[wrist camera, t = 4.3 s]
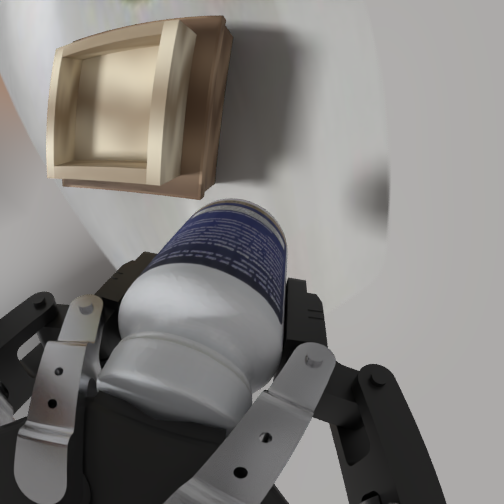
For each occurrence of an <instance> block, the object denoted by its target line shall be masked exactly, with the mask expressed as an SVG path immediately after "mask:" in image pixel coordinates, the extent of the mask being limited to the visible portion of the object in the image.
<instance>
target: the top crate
mask: <svg viewBox="0 0 504 504" xmlns="http://www.w3.org/2000/svg"><path fill="white" fill-rule="evenodd" d="M196 36H197V35H196V34H195V33H194V32H193V31H192V30H191V29H190V28H189V27H187V26H186V25H185V24H184V23H183V22H182V21H180V20H179V19H178V20H169V21H161V22H154V23H148V24H142V25H137V26H132V27H127V28H123V29H118V30H114V31H110V32H106V33H103V34H99V35H96V36H92V37H89V38H86V39H83V40H80V41H77V42H74V43H71V44H68V45H65V46H63V47H60V48H57V49H56V52H55V57H54V62H53V68H52V75H51V82H50V90H49V99H48V112H47V133H46V159H47V178H55V179H79V180H97V181H112V182H125V183H137V184H148V185H159V186H160V185H162V184H164V183H166V182H168V181H170V180H172V179H174V178H176V177H178V176H180V171H181V156H182V143H183V132H184V122H185V112H186V103H187V95H188V87H189V80H190V73H191V66H192V60H193V53H194V47H195V42H196Z"/></svg>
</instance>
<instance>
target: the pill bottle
mask: <svg viewBox="0 0 504 504" xmlns="http://www.w3.org/2000/svg"><path fill="white" fill-rule="evenodd" d="M286 273H287V243H286V239H285V235H284V233H283V231H282V229H281V227H280V225H279V224H278V222H277V221H276V219H275V218H274V217H273V216H272V215H271V214H270V213H269V212H268V211H266V210H265V209H264V208H262V207H260V206H259V205H257V204H255V203H252V202H250V201H246V200H242V199H221V200H217V201H214V202H211V203H209V204H207V205H205V206H204V207H202V208H201V209H199V210H198V211H197V212H196V213H195V214H194V215H192V216H191V217H190V219H189V220H188V221H187V222H186V223H185V224H184V225H183V226H182V227H181V228H180V230H179V231H178V232H177V233H176V234H175V235H174V236H173V237H172V238H171V239H170V241H169V242H168V243H167V244H166V245H165V246H164V247H163V249H162V250H161V251H160V252H159V253H158V254H157V255H156V257H155V258H154V259H153V260H152V261H151V262H150V264H149V265H148V266H147V267H146V268H145V269H144V270H143V272H142V273H141V274H140V275H139V276H138V277H137V279H136V280H135V281H134V282H133V284H132V285H131V286H130V288H129V289H128V290H127V292H126V293H125V295H124V297H123V299H122V301H121V304H120V308H119V313H118V326H119V332H120V335H121V339H122V340H121V341H120V342H119V344H118V345H117V346H116V347H115V348H114V350H113V351H112V353H111V355H110V357H109V359H108V361H107V362H106V364H105V366H104V367H103V369H102V371H101V372H100V374H99V376H98V378H97V383H96V387H97V391H98V392H99V390H100V391H103V392H105V393H107V394H110V395H112V396H115V397H117V398H120V399H122V400H125V401H127V402H128V403H130V404H131V405H133V406H134V407H136V408H137V409H139V410H140V411H142V412H143V413H145V414H147V415H148V416H150V417H151V418H153V419H156V420H166V421H182V422H194V423H198V424H202V425H206V426H211V427H215V428H220V429H225V430H226V436H225V438H227V437H228V435H229V434H230V433H231V432H232V430H233V429H234V428H235V427H236V425H237V424H238V423H239V422H240V420H241V419H242V418H243V416H244V415H245V414H246V413H247V411H248V410H249V409H250V407H251V406H252V393H254V392H256V391H258V390H259V389H261V388H262V387H264V386H265V385H266V384H267V383H268V382H269V381H270V380H271V378H272V377H273V376H274V374H275V373H276V371H277V369H278V367H279V364H280V361H281V357H282V350H283V338H284V317H285V296H286Z"/></svg>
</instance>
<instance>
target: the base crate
mask: <svg viewBox="0 0 504 504" xmlns="http://www.w3.org/2000/svg"><path fill="white" fill-rule="evenodd" d="M178 19H179V20H180V21H182V22H183V23H184V24H185V25H186V26H187V27H189V28H190V29H191V30H192V31H193V32H194V33H195V34H196V35H197V36H196V42H195V47H194V53H193V60H192V66H191V73H190V80H189V87H188V95H187V103H186V112H185V122H184V132H183V143H182V156H181V171H180V176H178V177H176V178H174V179H172V180H170V181H168V182H166V183H164V184H162V185H160V186H159V185H148V184H137V183H125V182H112V181H97V180H79V179H62V183H63V186H65V187H80V188H93V189H105V190H116V191H127V192H137V193H146V194H155V195H164V196H172V197H181V198H188V199H196V200H201V199H202V198H203V197H204V192H205V191H206V190H207V189H209V188H210V187H211V186H212V185H214V184H215V176H216V165H217V156H218V146H219V137H220V128H221V120H222V112H223V104H224V96H225V88H226V81H227V74H228V67H229V61H230V54H231V48H232V42H233V36H232V35H231V33H230V32H229V30H228V29H227V27H226V26H225V23H226V19H225V18H224V16H198V17H184V18H174V19H166V20H159V21H152V22H146V23H141V24H135V25H131V26H126V27H121V28H117V29H113V30H109V31H105V32H102V33H98V34H95V35H91V36H88V37H85V38H82V39H79V40H76V41H73V43H74V42H77V41H80V40H83V39H86V38H89V37H92V36H96V35H99V34H103V33H106V32H110V31H114V30H118V29H123V28H127V27H132V26H137V25H142V24H148V23H154V22H161V21H169V20H178Z"/></svg>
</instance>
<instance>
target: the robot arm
mask: <svg viewBox="0 0 504 504" xmlns="http://www.w3.org/2000/svg"><path fill="white" fill-rule="evenodd" d="M156 255H157V254H155V253H150V252H143V253H142V254H141V255H140V256H139V257H138V258H137V259H136V260H135V261H133V260H132V261H130V262H128V263H126V264H124V265H122V266H121V267H120V268H119V269H118V270H117V272H116V273H115V274H114V275H113V276H112V277H111V278H110V279H109V280H108V281H107V282H106V283H105V284H104V285H103V286H102V287H101V288H100V289H99V290H98V291H97V292H96V293H95V295H83V296H80V297H78V298H76V299H74V300H73V301H72V303H71V304H70V305H61V304H56V302H55V299H54V296H53V295H52V294H51V293H49V292H39V293H37V294H34V295H32V296H31V297H29V298H28V299H27V300H25V301H24V302H23V303H21V304H20V305H19V306H17V307H16V308H15V309H13V310H12V311H10V312H9V313H8V314H6V315H5V316H4V317H3V318H1V319H0V504H289V503H288V502H287V501H286V499H285V498H284V497H283V495H282V494H281V493H280V491H279V490H278V488H277V487H276V486H275V484H274V483H275V481H276V479H277V478H278V476H279V475H280V473H281V471H282V470H283V468H284V467H285V465H286V463H287V462H288V460H289V458H290V457H291V455H292V453H293V452H294V450H295V448H296V446H297V445H298V443H299V441H300V439H301V437H302V436H303V434H304V432H305V430H306V428H307V426H308V424H309V422H310V421H311V419H312V417H314V418H317V419H319V420H322V421H325V422H328V423H329V424H330V428H331V431H332V436H333V440H334V443H335V447H336V451H337V455H338V459H339V463H340V467H341V471H342V475H343V479H344V483H345V488H346V492H347V496H348V501H349V504H446V501H445V498H444V495H443V492H442V489H441V486H440V483H439V480H438V477H437V475H436V472H435V469H434V467H433V464H432V462H431V459H430V456H429V454H428V451H427V448H426V446H425V444H424V441H423V439H422V437H421V434H420V432H419V429H418V427H417V425H416V422H415V420H414V418H413V416H412V413H411V411H410V409H409V407H408V404H407V402H406V400H405V398H404V396H403V394H402V392H401V389H400V387H399V385H398V383H397V381H396V379H395V377H394V375H393V374H392V373H391V372H390V371H389V370H388V369H387V368H385V367H383V366H381V365H377V364H369V365H366V366H364V367H362V368H361V370H360V371H357V370H354V369H352V368H349V367H346V366H344V365H341V364H340V363H338V362H337V361H336V359H335V356H334V354H333V353H332V352H331V350H330V349H328V346H327V337H326V328H325V321H324V313H323V305H322V302H321V300H320V299H319V297H318V296H317V295H316V294H311V293H307V288H306V280H300V279H294V278H288V280H287V284H286V296H285V317H284V338H283V350H282V357H281V361H280V364H279V367H278V369H277V371H276V373H275V374H274V379H273V383H272V385H271V386H270V388H269V389H268V390H264V391H263V392H262V393H261V394H260V395H259V397H258V398H257V399H256V401H255V402H254V403H253V405H252V406H251V407H250V409H249V410H248V411H247V413H246V414H245V415H244V416H243V418H242V419H241V420H240V422H239V423H238V424H237V425H236V427H235V428H234V429H233V430H232V432H231V433H230V434H229V435H228V437H227V438H225V436H226V430H225V429H220V428H215V427H211V426H206V425H202V424H198V423H194V422H182V421H166V420H156V419H153V418H151V417H150V416H148V415H147V414H145V413H143V412H142V411H140V410H139V409H137V408H136V407H134V406H133V405H131V404H130V403H128V402H127V401H125V400H122V399H120V398H117V397H115V396H112V395H110V394H107V393H105V392H103V391H100V390H99V392H98V391H97V387H96V383H97V378H98V376H99V374H100V372H101V371H102V369H103V367H104V366H105V364H106V362H107V361H108V359H109V357H110V355H111V353H112V351H113V350H114V348H115V347H116V346H117V345H118V344H119V342H120V341H121V340H122V339H121V335H120V332H119V326H118V313H119V308H120V304H121V301H122V299H123V297H124V295H125V293H126V292H127V290H128V289H129V288H130V286H131V285H132V284H133V282H134V281H135V280H136V279H137V277H138V276H139V275H140V274H141V273H142V272H143V270H144V269H145V268H146V267H147V266H148V265H149V264H150V262H151V261H152V260H153V259H154V258H155V257H156ZM35 333H37V335H38V338H39V340H40V342H41V343H40V344H39V345H37V346H36V347H35V348H34V349H33V350H32V351H31V352H29V353H28V354H27V355H26V356H25V357H24V358H23V359H22V360H20V361H19V359H18V357H17V351H18V349H19V347H20V346H21V345H23V343H25V342H26V341H27V340H28V339H30V338H31V337H32V336H33V335H34V334H35ZM30 397H31V401H30V406H29V411H28V416H27V417H24V418H21V419H19V420H15V419H14V418H13V415H14V414H15V412H16V411H17V410H18V409H19V408H20V407H21V406H22V405H23V404H24V403H25V402H26V401H27V400H28V399H29V398H30Z"/></svg>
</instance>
